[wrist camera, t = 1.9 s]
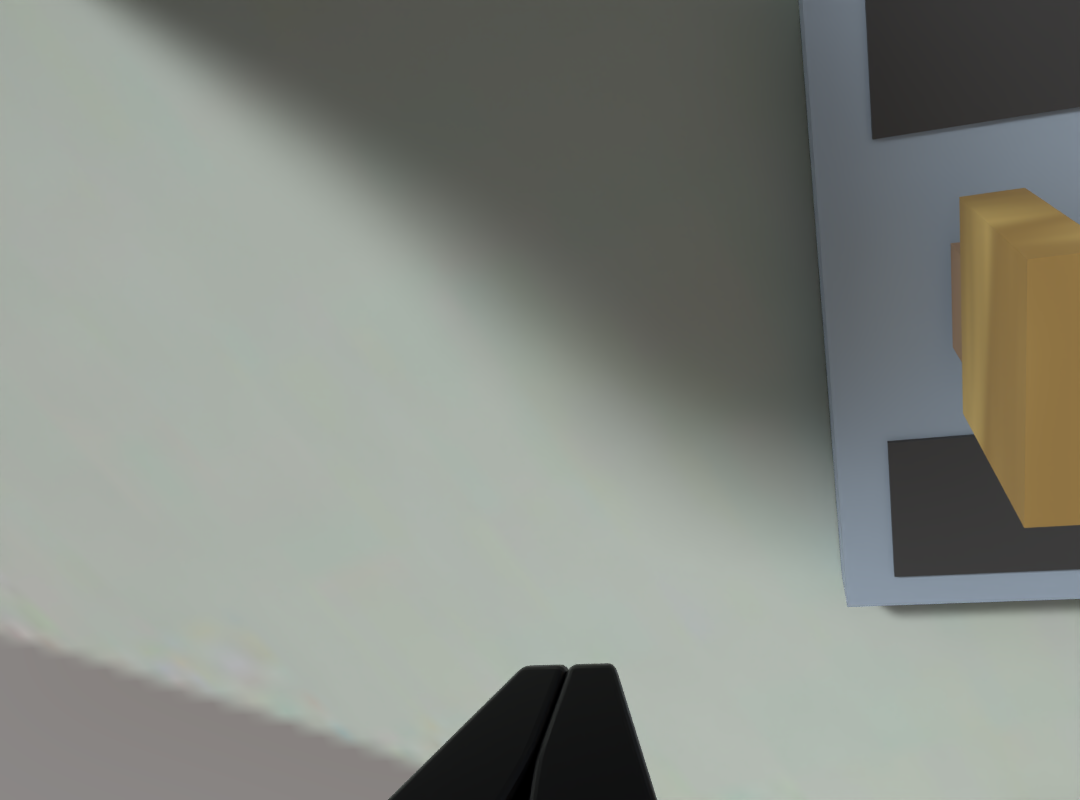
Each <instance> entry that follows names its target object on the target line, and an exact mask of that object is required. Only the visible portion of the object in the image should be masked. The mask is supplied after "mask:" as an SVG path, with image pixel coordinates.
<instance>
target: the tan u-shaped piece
mask: <svg viewBox="0 0 1080 800" xmlns="http://www.w3.org/2000/svg"><path fill="white" fill-rule="evenodd" d="M959 206H960V242H957V243H951V290H952V339H953V349H954V350H955V352H956V354H957V355H958V357H959V359H960V360H961V362H962V389H963V414H964V416H965V418H966V420H967V422H968V424H969V426H970V427H971V429H972V431H973V433H974V435H975V437H976V439H977V441H978V442H979V444H980V446H981V448H982V450H983V452H984V454H985V456H986V457H987V459H988V461H989V463H990V465H991V467H992V469H993V470H994V472H995V474H996V476H997V478H998V480H999V482H1000V484H1001V485H1002V487H1003V489H1004V491H1005V493H1006V495H1007V497H1008V498H1009V500H1010V502H1011V504H1012V506H1013V508H1014V510H1015V512H1016V513H1017V515H1018V517H1019V519H1020V521H1021V523H1022V525H1023V527H1024V528H1032V527H1051V526H1069V525H1080V225H1079V224H1078V223H1076V222H1075V221H1073V220H1072V219H1070V218H1069V217H1067V216H1066V215H1064V214H1063V213H1062V212H1060V211H1059V210H1057V209H1056V208H1054V207H1053V206H1051V205H1050V204H1048V203H1047V202H1045V201H1044V200H1042V199H1041V198H1039V197H1038V196H1036V195H1035V194H1033V193H1032V192H1030V191H1029V190H1028V189H1026V188H1019V189H1012V190H1005V191H998V192H991V193H983V194H976V195H969V196H962V197H959Z"/></svg>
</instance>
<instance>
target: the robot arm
mask: <svg viewBox="0 0 1080 800" xmlns="http://www.w3.org/2000/svg"><path fill="white" fill-rule="evenodd" d="M388 800H657V798H656V795H655V792H654V788H653V785H652V782H651V779H650V775H649V772H648V769H647V766H646V763H645V759H644V756H643V753H642V750H641V746H640V743H639V740H638V737H637V734H636V730H635V727H634V724H633V721H632V717H631V714H630V711H629V708H628V705H627V701H626V698H625V695H624V692H623V688H622V685H621V682H620V679H619V676H618V673H617V670H616V668H615V667H614V665H612V664H608V663H604V664H576V665H574V666H572V667H571V668H569V669H568V668H567V667H565V666H564V665H531V666H525V667H523V668H522V669H520V670H519V671H518V672H517V673H516V674H515V675H514V676H513V677H512V678H511V679H510V680H509V681H508V682H507V683H506V684H505V685H504V686H503V687H502V688H501V689H500V690H499V691H498V692H497V693H496V694H495V695H494V696H493V697H492V698H491V699H490V700H489V701H488V702H487V703H486V704H484V705H483V706H482V707H481V708H480V709H479V710H478V711H477V712H476V713H475V714H474V715H473V716H472V717H471V718H470V719H469V720H468V721H467V722H466V723H465V724H464V725H463V726H462V727H461V728H460V729H459V730H458V731H457V732H456V733H455V734H454V735H453V736H452V737H451V738H450V739H449V740H448V741H447V742H446V743H445V744H444V745H443V746H442V747H441V748H440V749H439V750H438V751H437V752H436V753H435V754H434V755H433V756H432V757H431V758H430V759H429V760H428V761H427V762H426V763H425V764H424V765H423V766H422V767H421V768H420V769H419V770H418V771H417V772H416V773H415V774H414V775H413V776H412V777H411V778H410V779H409V780H407V781H406V782H405V783H404V785H402V786H401V787H400V788H399V789H398V790H397V791H396V792H395V794H393V795H392V796H391V797H390V798H389V799H388Z"/></svg>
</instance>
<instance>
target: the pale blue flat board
mask: <svg viewBox="0 0 1080 800" xmlns="http://www.w3.org/2000/svg"><path fill="white" fill-rule="evenodd" d="M798 1H799V14H800V27H801V41H802V54H803V67H804V80H805V93H806V107H807V120H808V133H809V146H810V160H811V173H812V186H813V199H814V212H815V226H816V239H817V252H818V265H819V278H820V292H821V305H822V318H823V331H824V344H825V358H826V371H827V384H828V397H829V410H830V424H831V437H832V450H833V463H834V477H835V490H836V503H837V516H838V529H839V543H840V556H841V569H842V579H843V584H844V590H845V595H846V601H847V607H860V606H889V605H917V604H946V603H974V602H1002V601H1031V600H1059V599H1080V525H1069V526H1051V527H1032V528H1024V527H1023V525H1022V523H1021V521H1020V519H1019V517H1018V515H1017V513H1016V512H1015V510H1014V508H1013V506H1012V504H1011V502H1010V500H1009V498H1008V497H1007V495H1006V493H1005V491H1004V489H1003V487H1002V485H1001V484H1000V482H999V480H998V478H997V476H996V474H995V472H994V470H993V469H992V467H991V465H990V463H989V461H988V459H987V457H986V456H985V454H984V452H983V450H982V448H981V446H980V444H979V442H978V441H977V439H976V437H975V435H974V433H973V431H972V429H971V427H970V426H969V424H968V422H967V420H966V418H965V416H964V414H963V389H962V362H961V360H960V359H959V357H958V355H957V354H956V352H955V350H954V349H953V339H952V290H951V243H957V242H960V206H959V197H962V196H969V195H976V194H983V193H991V192H998V191H1005V190H1012V189H1019V188H1026V189H1028V190H1029V191H1030V192H1032V193H1033V194H1035V195H1036V196H1038V197H1039V198H1041V199H1042V200H1044V201H1045V202H1047V203H1048V204H1050V205H1051V206H1053V207H1054V208H1056V209H1057V210H1059V211H1060V212H1062V213H1063V214H1064V215H1066V216H1067V217H1069V218H1070V219H1072V220H1073V221H1075V222H1076V223H1078V224H1079V225H1080V0H798Z"/></svg>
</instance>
